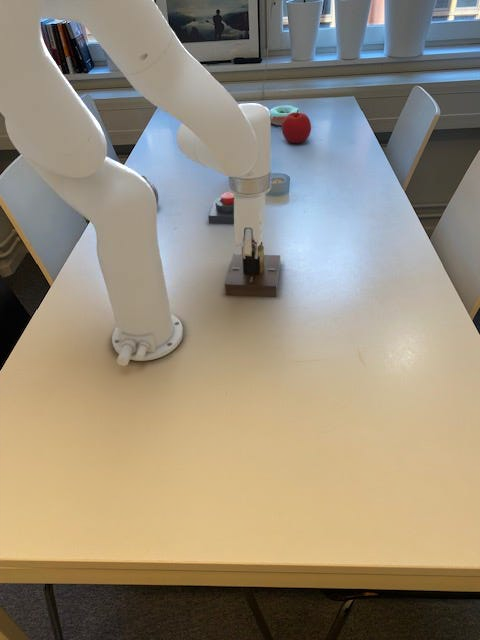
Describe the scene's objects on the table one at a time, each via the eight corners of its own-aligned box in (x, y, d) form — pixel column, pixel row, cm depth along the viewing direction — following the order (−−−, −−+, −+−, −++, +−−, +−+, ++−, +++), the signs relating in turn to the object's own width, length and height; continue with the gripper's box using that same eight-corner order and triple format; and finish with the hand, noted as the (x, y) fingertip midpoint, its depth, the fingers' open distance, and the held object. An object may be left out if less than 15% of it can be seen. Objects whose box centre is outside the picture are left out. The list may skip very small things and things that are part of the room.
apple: (312, 136, 160) (313, 104, 154) (308, 147, 153) (309, 114, 147) (284, 135, 162) (284, 104, 156) (279, 145, 155) (279, 113, 149)
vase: (155, 217, 123) (149, 184, 117) (129, 215, 124) (122, 183, 119) (164, 204, 128) (158, 172, 123) (139, 203, 130) (132, 171, 124)
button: (235, 205, 118) (235, 198, 117) (220, 205, 118) (220, 198, 117) (237, 198, 121) (237, 191, 120) (223, 198, 121) (222, 191, 120)
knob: (263, 275, 97) (262, 252, 93) (241, 275, 97) (239, 252, 94) (265, 263, 100) (265, 240, 97) (244, 262, 101) (242, 240, 97)
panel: (276, 296, 95) (276, 285, 94) (225, 294, 97) (224, 283, 95) (280, 265, 104) (280, 254, 102) (233, 263, 105) (232, 253, 103)
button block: (245, 224, 118) (245, 209, 115) (209, 223, 119) (207, 208, 116) (250, 207, 125) (249, 192, 122) (215, 206, 126) (214, 192, 123)
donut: (302, 115, 176) (302, 104, 174) (300, 127, 167) (300, 115, 165) (269, 116, 178) (268, 104, 175) (265, 127, 169) (265, 115, 166)
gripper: (235, 161, 93) (240, 244, 105) (221, 202, 81) (228, 291, 92) (274, 161, 92) (275, 244, 104) (266, 202, 80) (268, 292, 91)
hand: (253, 265), depth 98 cm, fingers closed on knob, 4 cm apart
